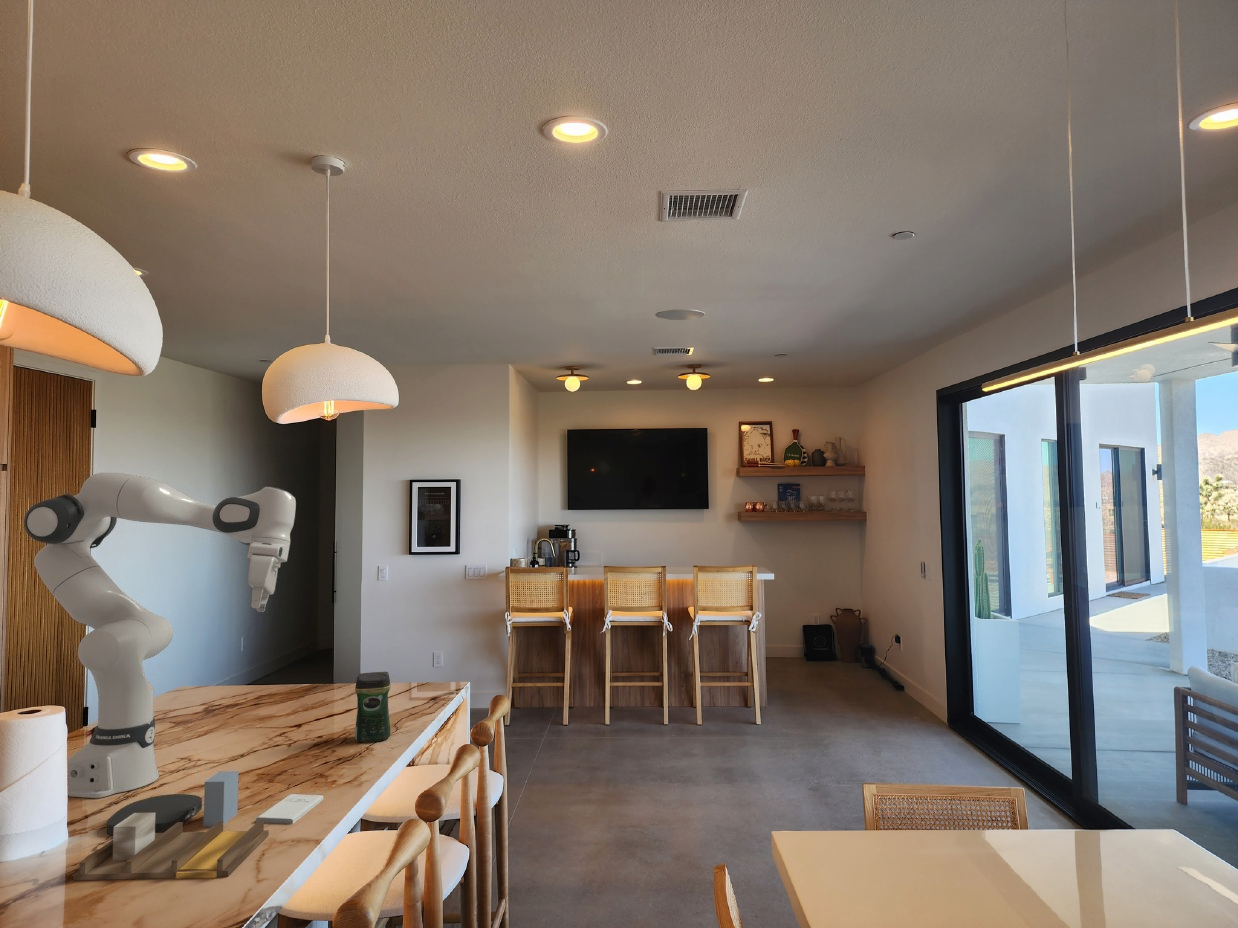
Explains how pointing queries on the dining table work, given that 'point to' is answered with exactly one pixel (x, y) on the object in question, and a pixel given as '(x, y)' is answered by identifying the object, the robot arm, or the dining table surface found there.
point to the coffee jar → (372, 707)
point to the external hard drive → (290, 809)
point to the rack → (169, 851)
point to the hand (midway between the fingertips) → (257, 609)
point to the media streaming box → (160, 810)
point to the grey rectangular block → (221, 797)
